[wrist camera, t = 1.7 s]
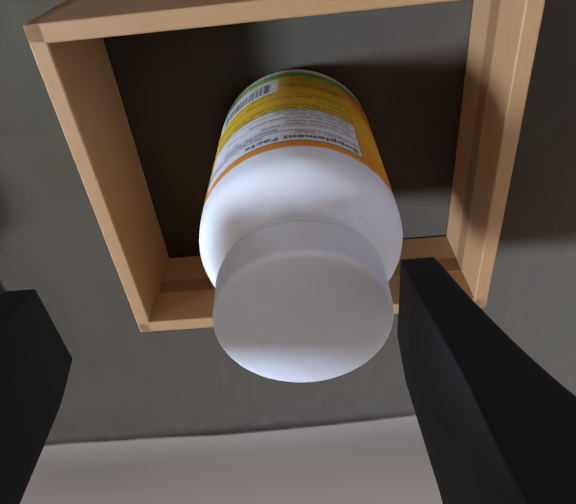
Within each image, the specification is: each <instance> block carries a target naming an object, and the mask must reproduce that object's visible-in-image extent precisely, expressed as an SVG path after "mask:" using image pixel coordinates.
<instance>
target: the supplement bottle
mask: <svg viewBox="0 0 576 504" xmlns="http://www.w3.org/2000/svg"><path fill="white" fill-rule="evenodd" d="M402 241H403V232H402V223H401V219H400V215H399V211H398V207H397V204H396V201H395V198H394V195H393V192H392V189H391V186H390V183H389V180H388V178H387V175H386V172H385V169H384V166H383V163H382V160H381V157H380V154H379V151H378V148H377V145H376V143H375V139H374V136H373V134H372V131H371V128H370V126H369V123H368V120H367V117H366V115H365V113H364V111H363V109H362V107H361V105H360V103H359V102H358V100H357V99H356V98H355V96H354V95H353V94H352V93H351V92H350V91H349V90H348V89H347V88H346V87H345V86H344V85H342V84H341V83H339V82H338V81H336V80H335V79H333V78H331V77H328V76H326V75H324V74H321V73H318V72H314V71H309V70H303V69H291V70H284V71H279V72H275V73H272V74H269V75H267V76H265V77H263V78H261V79H259V80H257V81H255V82H254V83H252V84H251V85H250V86H248V87H247V88H246V89H245V90H244V91H243V92H242V93H241V94H240V95H239V96H238V98H237V99H236V100H235V102H234V103H233V105H232V106H231V108H230V110H229V112H228V114H227V117H226V120H225V122H224V126H223V129H222V133H221V137H220V141H219V145H218V149H217V154H216V158H215V162H214V166H213V170H212V174H211V178H210V182H209V186H208V190H207V194H206V198H205V202H204V207H203V212H202V217H201V223H200V231H199V248H200V254H201V259H202V262H203V266H204V268H205V271H206V273H207V275H208V277H209V279H210V280H211V282H212V284H213V285H214V287H215V297H214V305H213V313H212V318H213V327H214V331H215V334H216V337H217V339H218V341H219V343H220V345H221V346H222V348H223V349H224V350H225V351H226V353H227V354H228V355H229V356H230V357H231V358H232V359H233V360H235V361H236V362H237V363H238V364H240V365H241V366H243V367H244V368H246V369H247V370H250V371H252V372H254V373H256V374H258V375H261V376H264V377H267V378H271V379H275V380H280V381H288V382H314V381H322V380H327V379H331V378H334V377H337V376H341V375H343V374H346V373H348V372H350V371H353V370H355V369H356V368H358V367H360V366H361V365H363V364H364V363H366V362H367V361H368V360H370V359H371V358H372V357H373V356H374V355H375V354H376V353H377V352H378V351H379V350H380V348H381V347H382V346H383V345H384V343H385V341H386V340H387V338H388V336H389V334H390V331H391V328H392V324H393V317H394V310H393V301H392V297H391V292H390V288H389V283H388V282H389V280H390V279H391V277H392V275H393V273H394V272H395V269H396V267H397V264H398V262H399V259H400V254H401V250H402Z"/></svg>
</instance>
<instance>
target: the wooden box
mask: <svg viewBox="0 0 576 504" xmlns="http://www.w3.org/2000/svg"><path fill="white" fill-rule="evenodd" d="M450 1H459V0H67V1H65V2H63V3H61V4H60V5H58V6H56V7H54V8H52V9H51V10H49V11H47V12H45V13H44V14H42V15H40V16H38V17H36V18H35V19H33V20H31V21H29V22H28V23H26V24H24V25H23V29H24V31H25V34H26V36H27V39H28V42H29V44H30V47H31V49H32V52H33V55H34V57H35V60H36V62H37V65H38V67H39V70H40V73H41V75H42V78H43V80H44V83H45V86H46V88H47V91H48V93H49V96H50V98H51V101H52V104H53V106H54V109H55V111H56V114H57V117H58V119H59V122H60V124H61V127H62V130H63V132H64V135H65V137H66V140H67V142H68V145H69V148H70V150H71V153H72V155H73V158H74V161H75V163H76V166H77V168H78V171H79V173H80V176H81V179H82V181H83V184H84V186H85V189H86V192H87V194H88V197H89V199H90V202H91V204H92V207H93V210H94V212H95V215H96V217H97V220H98V223H99V225H100V228H101V230H102V233H103V236H104V238H105V241H106V243H107V246H108V248H109V251H110V254H111V256H112V259H113V261H114V264H115V267H116V269H117V272H118V274H119V277H120V279H121V282H122V285H123V287H124V290H125V292H126V295H127V298H128V300H129V303H130V305H131V308H132V310H133V313H134V316H135V318H136V321H137V323H138V326H139V329H140V331H141V332H148V331H161V330H175V329H189V328H203V327H213V318H212V313H213V305H214V297H215V287H214V285H213V284H212V282H211V280H210V279H209V277H208V275H207V273H206V271H205V268H204V266H203V262H202V259H201V256H190V257H177V258H169V256H168V252H167V249H166V246H165V242H164V239H163V236H162V233H161V229H160V226H159V223H158V219H157V216H156V213H155V209H154V206H153V203H152V199H151V196H150V193H149V189H148V186H147V183H146V179H145V176H144V173H143V169H142V166H141V163H140V159H139V156H138V153H137V149H136V146H135V143H134V139H133V136H132V133H131V129H130V126H129V123H128V119H127V116H126V113H125V109H124V106H123V103H122V99H121V96H120V93H119V89H118V86H117V83H116V79H115V76H114V73H113V69H112V66H111V63H110V60H109V56H108V53H107V50H106V46H105V43H104V40H103V38H105V37H114V36H124V35H134V34H143V33H153V32H162V31H172V30H181V29H191V28H201V27H210V26H220V25H229V24H239V23H249V22H258V21H268V20H277V19H287V18H296V17H306V16H316V15H325V14H335V13H344V12H354V11H364V10H373V9H383V8H392V7H402V6H412V5H421V4H431V3H440V2H450ZM544 5H545V0H474V3H473V12H472V20H471V29H470V38H469V46H468V55H467V64H466V72H465V81H464V90H463V98H462V107H461V115H460V124H459V133H458V141H457V150H456V159H455V167H454V176H453V185H452V193H451V202H450V211H449V219H448V228H447V236H442V237H429V238H416V239H404V240H403V241H402V250H401V254H400V259H399V262H398V264H397V267H396V269H395V272H394V273H393V275H392V277H391V279H390V280H389V282H388V283H389V288H390V292H391V297H392V301H393V310H394V314H398V312H399V289H400V265H401V259H414V258H426V257H434V258H435V259H436V260H437V261H439V263H440V264H441V265H442V266H443V267H444V268H445V270H446V271H447V272H448V273H449V274H450V275H451V276H452V278H453V279H454V280H455V281H456V282H457V283H458V284H459V286H460V287H461V288H462V289H463V290H464V291H465V292H466V293H467V294H468V295H469V297H470V298H471V299H472V300H473V301H474V302H475V303H476V304H477V305H478V306H479V307H480V308H483V307H486V305H487V300H488V295H489V289H490V284H491V279H492V274H493V269H494V264H495V258H496V253H497V248H498V243H499V238H500V233H501V227H502V222H503V217H504V212H505V207H506V202H507V196H508V191H509V186H510V181H511V176H512V171H513V165H514V160H515V155H516V150H517V145H518V140H519V134H520V129H521V124H522V119H523V114H524V109H525V103H526V98H527V93H528V88H529V83H530V78H531V72H532V67H533V62H534V57H535V52H536V47H537V41H538V36H539V31H540V26H541V21H542V16H543V10H544Z"/></svg>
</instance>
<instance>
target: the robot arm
mask: <svg viewBox="0 0 576 504" xmlns="http://www.w3.org/2000/svg"><path fill="white" fill-rule="evenodd" d="M398 340H399V346H400V352H401V357H402V363H403V368H404V373H405V378H406V383H407V386H408V390H409V393H410V396H411V400H412V403H413V406H414V410H415V413H416V416H417V420H418V423H419V426H420V429H421V432H422V436H423V439H424V442H425V445H426V449H427V452H428V455H429V458H430V462H431V465H432V468H433V471H434V475H435V478H436V481H437V484H438V488H439V491H440V495H441V498H442V502H443V504H576V397H575V396H574V395H573V394H572V393H571V392H569V391H568V390H567V389H566V388H565V387H563V386H562V385H561V384H560V383H559V382H558V381H556V380H555V379H554V378H553V377H552V376H551V375H549V374H548V373H547V372H546V371H545V370H544V369H543V368H542V367H541V366H539V365H538V364H537V363H536V362H535V361H534V360H533V359H532V358H531V357H529V356H528V355H527V354H526V353H525V352H524V351H523V350H522V349H521V348H520V347H519V346H518V345H517V344H516V343H515V342H513V341H512V340H511V339H510V338H509V337H508V336H507V335H506V334H505V333H504V332H503V331H502V330H501V329H500V328H499V327H498V326H497V325H496V324H495V323H494V322H493V321H492V320H491V319H490V318H489V317H488V316H487V315H486V314H485V313H484V311H483V310H482V309H481V308H480V307H479V306H478V305H477V304H476V303H475V302H474V301H473V300H472V299H471V298H470V297H469V295H468V294H467V293H466V292H465V291H464V290H463V289H462V288H461V287H460V286H459V284H458V283H457V282H456V281H455V280H454V279H453V278H452V276H451V275H450V274H449V273H448V272H447V271H446V270H445V268H444V267H443V266H442V265H441V264H440V263H439V261H437V260H436V259H435V258H434V257H426V258H414V259H401V265H400V289H399V312H398ZM71 362H72V357H71V355H70V353H69V352H68V350H67V348H66V346H65V344H64V342H63V340H62V339H61V337H60V335H59V333H58V331H57V329H56V327H55V325H54V324H53V322H52V320H51V318H50V316H49V314H48V312H47V311H46V309H45V307H44V305H43V303H42V301H41V299H40V298H39V296H38V294H37V292H36V290H35V289H32V290H19V291H7V292H4V293H3V294H1V295H0V504H20V502H21V499H22V497H23V494H24V492H25V490H26V487H27V485H28V482H29V480H30V477H31V475H32V473H33V470H34V468H35V466H36V463H37V461H38V458H39V456H40V454H41V451H42V449H43V447H44V444H45V442H46V439H47V437H48V434H49V432H50V430H51V427H52V425H53V422H54V420H55V417H56V415H57V412H58V410H59V407H60V404H61V401H62V397H63V394H64V390H65V386H66V383H67V378H68V374H69V370H70V366H71Z"/></svg>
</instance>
